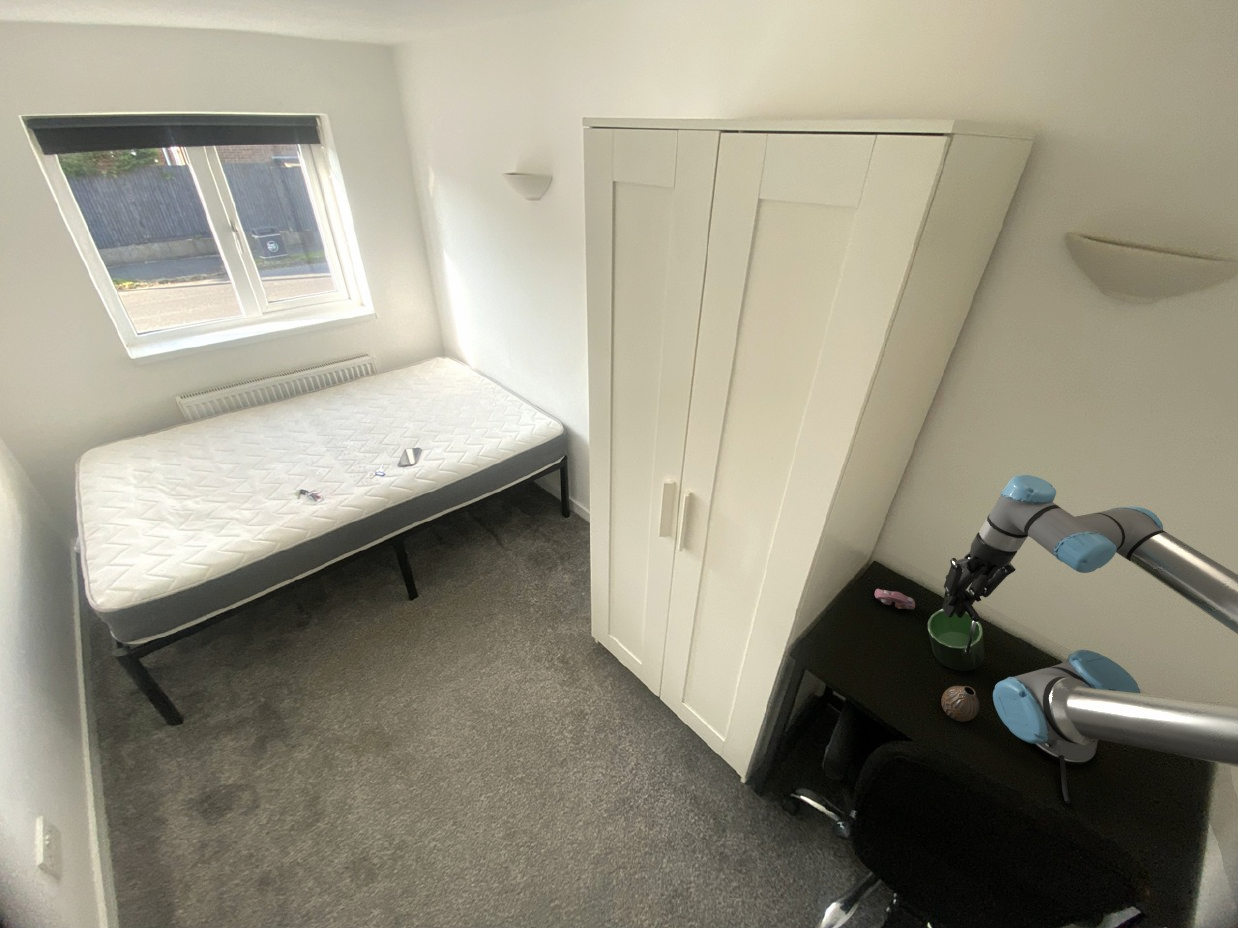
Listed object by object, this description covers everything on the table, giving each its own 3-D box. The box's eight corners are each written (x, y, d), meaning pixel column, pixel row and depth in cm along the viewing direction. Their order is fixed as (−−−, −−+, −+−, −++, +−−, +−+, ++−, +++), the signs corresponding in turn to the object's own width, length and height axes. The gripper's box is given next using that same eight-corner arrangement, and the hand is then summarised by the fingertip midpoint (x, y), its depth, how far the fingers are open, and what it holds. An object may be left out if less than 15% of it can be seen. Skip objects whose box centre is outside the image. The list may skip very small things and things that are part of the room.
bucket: (967, 623, 132) (961, 569, 121) (996, 669, 121) (992, 615, 110) (922, 633, 135) (912, 581, 124) (947, 679, 124) (938, 627, 113)
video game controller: (871, 604, 144) (878, 597, 138) (873, 589, 146) (881, 582, 140) (909, 615, 141) (918, 609, 135) (911, 600, 143) (920, 593, 137)
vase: (968, 732, 113) (985, 711, 108) (934, 714, 117) (949, 693, 111) (972, 709, 118) (989, 688, 113) (939, 692, 121) (955, 670, 116)
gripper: (1022, 530, 109) (974, 601, 123) (953, 527, 109) (914, 598, 123) (1044, 555, 103) (992, 627, 117) (972, 551, 103) (928, 624, 117)
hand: (952, 612), depth 120 cm, fingers closed on bucket, 2 cm apart
